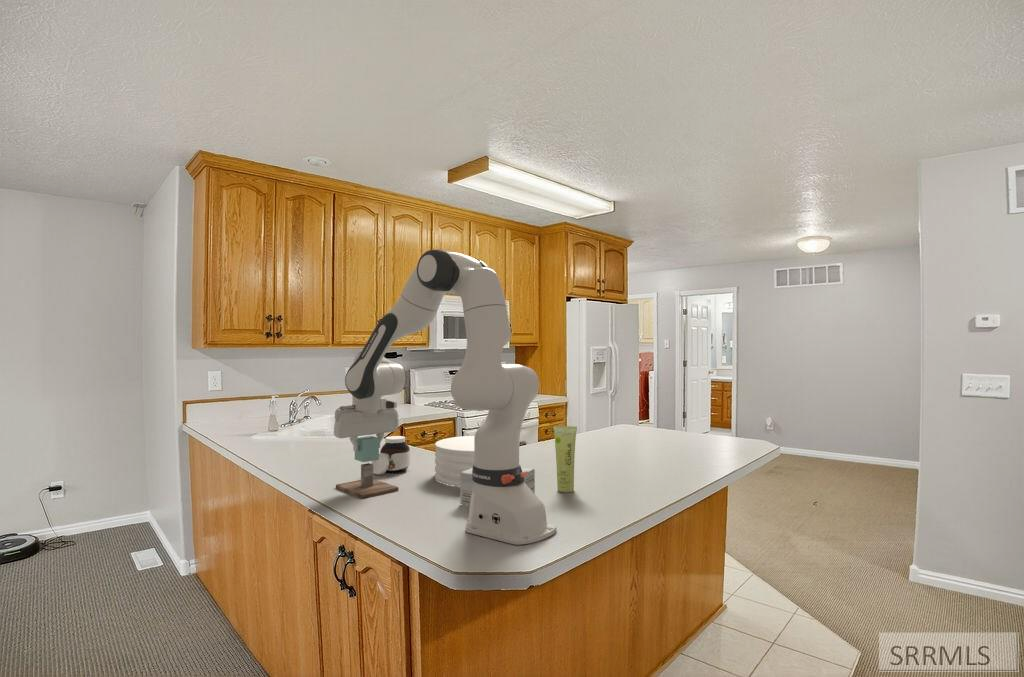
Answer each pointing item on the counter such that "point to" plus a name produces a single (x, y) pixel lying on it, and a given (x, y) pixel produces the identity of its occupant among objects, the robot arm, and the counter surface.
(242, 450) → the counter surface
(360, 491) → the post stand
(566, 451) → the tube
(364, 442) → the teal rectangular block
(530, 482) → the supplement box
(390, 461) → the spread jar
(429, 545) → the counter surface
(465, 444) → the plate stack
